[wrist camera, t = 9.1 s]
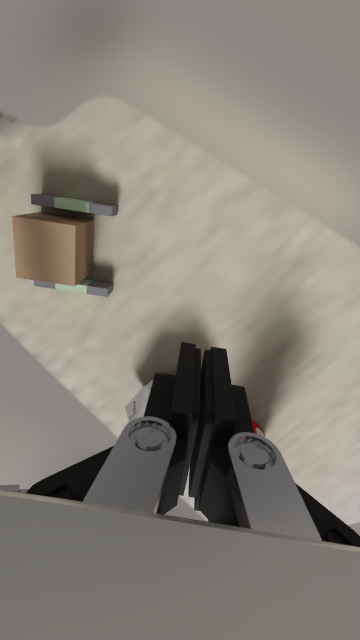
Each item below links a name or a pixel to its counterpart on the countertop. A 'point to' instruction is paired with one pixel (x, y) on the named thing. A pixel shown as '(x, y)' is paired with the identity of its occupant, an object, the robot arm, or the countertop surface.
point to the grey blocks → (82, 206)
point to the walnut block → (53, 247)
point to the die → (138, 403)
